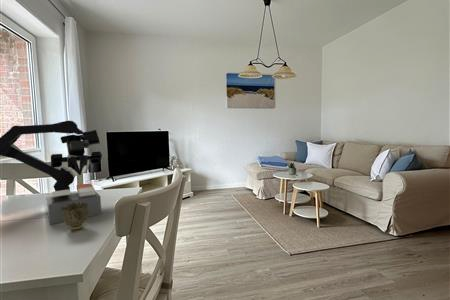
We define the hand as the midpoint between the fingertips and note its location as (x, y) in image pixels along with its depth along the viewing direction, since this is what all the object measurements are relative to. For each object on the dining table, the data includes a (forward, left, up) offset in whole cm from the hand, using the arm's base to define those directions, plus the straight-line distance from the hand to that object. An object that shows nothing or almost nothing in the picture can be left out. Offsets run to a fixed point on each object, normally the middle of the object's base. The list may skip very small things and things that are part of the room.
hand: (80, 174), depth 102 cm
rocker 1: (+12, -8, -5) cm, 15 cm away
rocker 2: (+12, 0, -5) cm, 13 cm away
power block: (+10, -4, -14) cm, 17 cm away
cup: (+27, -6, -14) cm, 31 cm away
